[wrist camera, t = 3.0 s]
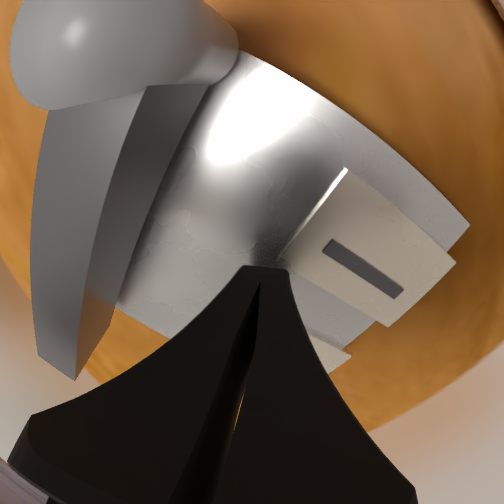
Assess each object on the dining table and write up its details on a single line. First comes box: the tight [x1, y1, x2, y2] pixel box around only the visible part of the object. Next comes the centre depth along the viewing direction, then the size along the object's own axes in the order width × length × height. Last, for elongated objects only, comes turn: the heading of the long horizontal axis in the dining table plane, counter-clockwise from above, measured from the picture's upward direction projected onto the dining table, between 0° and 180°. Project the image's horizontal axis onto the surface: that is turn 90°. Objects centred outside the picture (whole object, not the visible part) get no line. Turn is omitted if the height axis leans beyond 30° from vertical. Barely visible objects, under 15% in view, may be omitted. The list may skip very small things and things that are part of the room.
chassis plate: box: [115, 49, 470, 374], centre depth 10 cm, size 12×11×1 cm
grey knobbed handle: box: [9, 0, 239, 381], centre depth 7 cm, size 2×12×5 cm, turn 149°
